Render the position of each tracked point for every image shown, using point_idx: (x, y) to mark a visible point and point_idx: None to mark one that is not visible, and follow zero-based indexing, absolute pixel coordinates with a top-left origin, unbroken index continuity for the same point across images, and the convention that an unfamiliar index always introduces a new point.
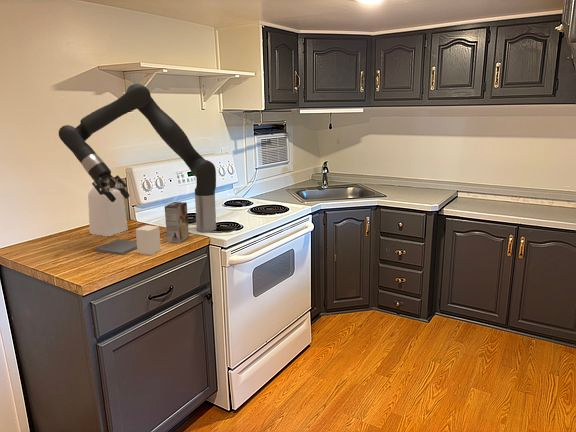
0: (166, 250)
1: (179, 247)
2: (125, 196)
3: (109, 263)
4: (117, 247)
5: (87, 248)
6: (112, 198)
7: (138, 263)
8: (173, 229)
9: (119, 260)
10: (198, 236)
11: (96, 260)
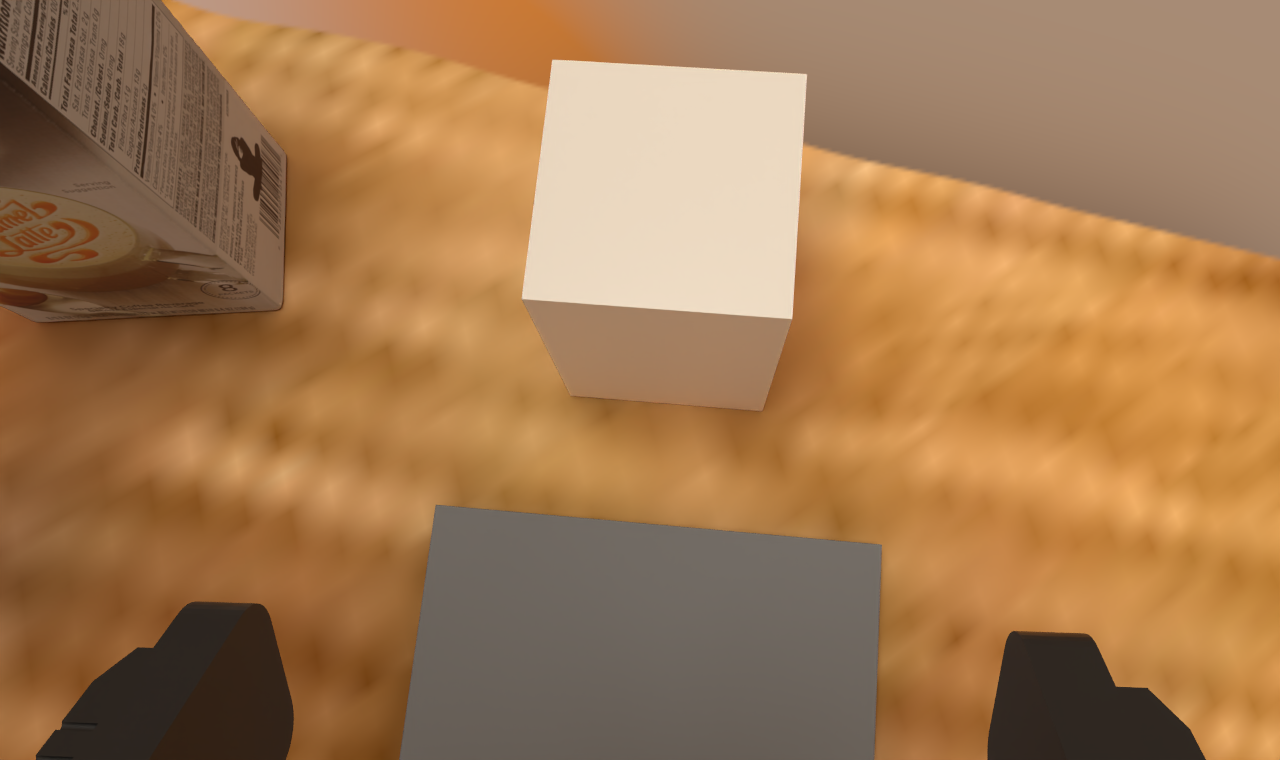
0: None
1: (446, 81)
2: (256, 747)
3: (1179, 515)
4: (720, 744)
5: None
6: (1153, 709)
7: (1054, 209)
8: (212, 140)
9: (1050, 466)
10: None
11: None
